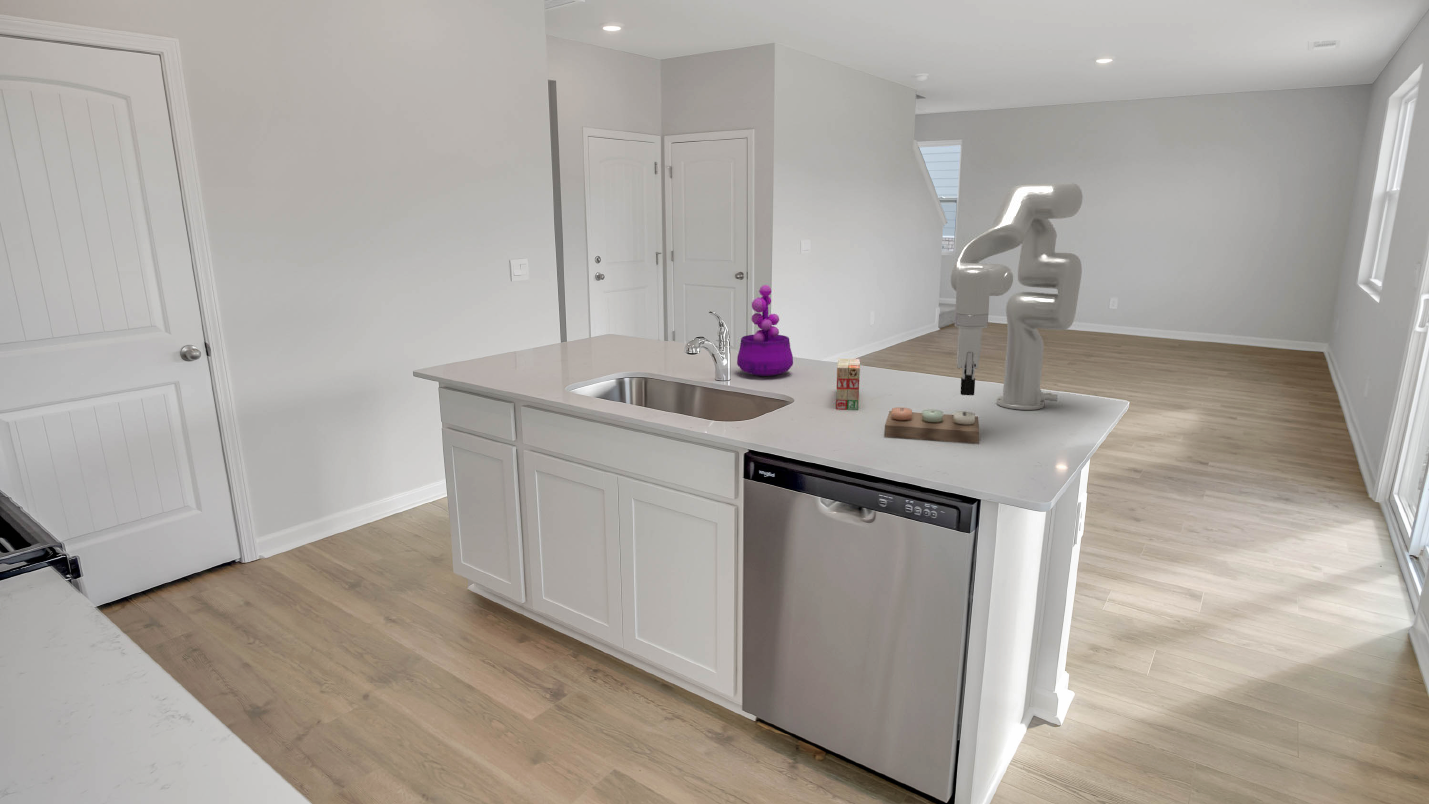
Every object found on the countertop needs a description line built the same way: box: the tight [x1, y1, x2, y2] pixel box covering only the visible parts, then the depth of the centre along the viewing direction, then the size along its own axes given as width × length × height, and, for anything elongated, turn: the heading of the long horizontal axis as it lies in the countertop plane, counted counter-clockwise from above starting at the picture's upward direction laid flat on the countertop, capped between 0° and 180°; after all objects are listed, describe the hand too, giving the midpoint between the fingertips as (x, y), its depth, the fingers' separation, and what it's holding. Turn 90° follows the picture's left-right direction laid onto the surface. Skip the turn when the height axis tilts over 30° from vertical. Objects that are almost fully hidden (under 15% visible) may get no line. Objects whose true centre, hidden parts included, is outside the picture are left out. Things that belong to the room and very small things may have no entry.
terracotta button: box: [891, 406, 913, 420], centre depth 196 cm, size 5×5×2 cm
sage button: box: [921, 408, 944, 422], centre depth 194 cm, size 5×5×2 cm
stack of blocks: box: [835, 358, 861, 411], centre depth 226 cm, size 21×6×12 cm, turn 170°
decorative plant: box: [736, 284, 794, 377], centre depth 259 cm, size 19×18×30 cm
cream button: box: [953, 410, 976, 425], centre depth 192 cm, size 5×5×2 cm
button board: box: [883, 410, 980, 444], centre depth 195 cm, size 22×14×3 cm, turn 73°
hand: (967, 394), depth 191 cm, fingers closed
